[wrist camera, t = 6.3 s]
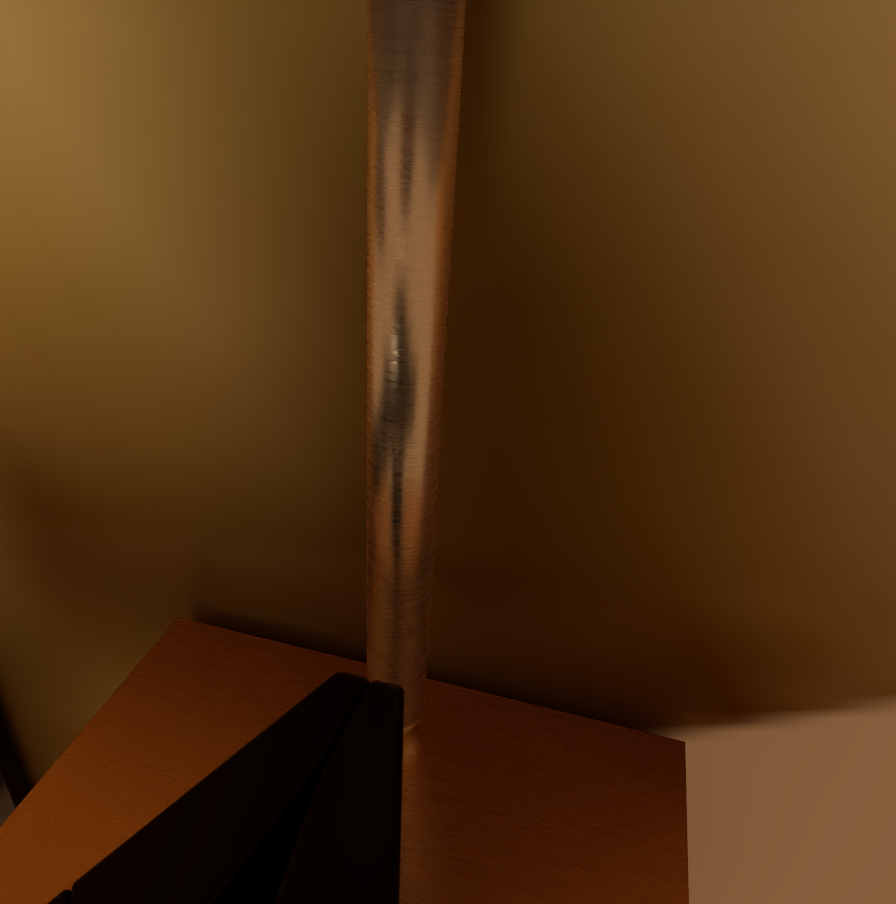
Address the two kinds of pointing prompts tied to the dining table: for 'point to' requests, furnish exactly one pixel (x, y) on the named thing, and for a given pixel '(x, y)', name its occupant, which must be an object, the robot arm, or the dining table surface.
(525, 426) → the dining table surface
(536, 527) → the dining table surface
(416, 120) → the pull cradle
